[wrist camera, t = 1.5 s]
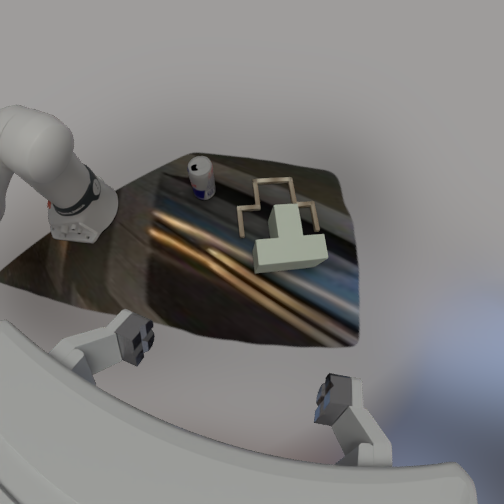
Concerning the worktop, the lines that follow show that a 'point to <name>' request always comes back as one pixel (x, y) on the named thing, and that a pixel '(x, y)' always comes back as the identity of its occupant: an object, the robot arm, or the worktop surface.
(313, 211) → the T guide
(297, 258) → the T block
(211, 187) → the energy drink
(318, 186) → the worktop surface
